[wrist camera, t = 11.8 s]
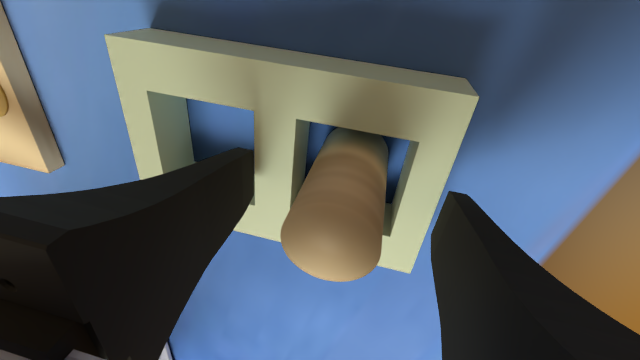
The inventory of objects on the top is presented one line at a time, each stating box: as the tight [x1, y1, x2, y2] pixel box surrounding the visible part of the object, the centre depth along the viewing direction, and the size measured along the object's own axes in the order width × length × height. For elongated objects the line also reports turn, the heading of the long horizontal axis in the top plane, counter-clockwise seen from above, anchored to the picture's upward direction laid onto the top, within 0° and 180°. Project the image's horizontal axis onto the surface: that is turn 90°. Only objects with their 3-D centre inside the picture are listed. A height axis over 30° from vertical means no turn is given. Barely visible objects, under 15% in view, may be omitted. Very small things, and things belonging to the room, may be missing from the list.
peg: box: [280, 127, 388, 282], centre depth 12 cm, size 3×3×6 cm
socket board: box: [104, 28, 479, 273], centre depth 13 cm, size 8×13×2 cm, turn 84°
